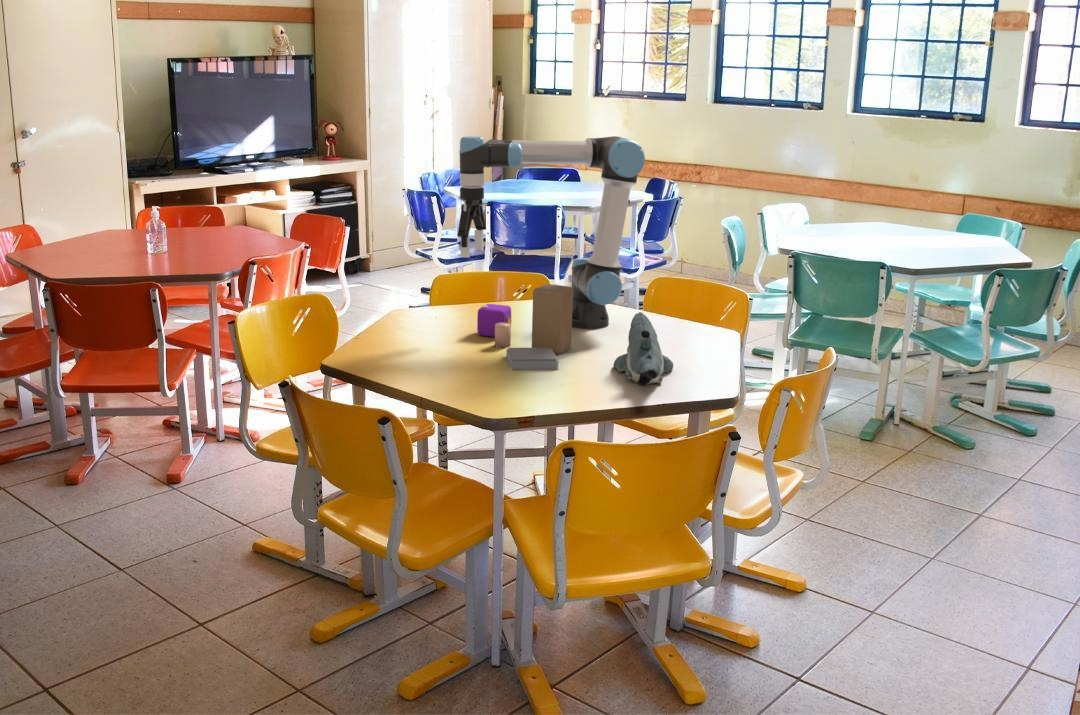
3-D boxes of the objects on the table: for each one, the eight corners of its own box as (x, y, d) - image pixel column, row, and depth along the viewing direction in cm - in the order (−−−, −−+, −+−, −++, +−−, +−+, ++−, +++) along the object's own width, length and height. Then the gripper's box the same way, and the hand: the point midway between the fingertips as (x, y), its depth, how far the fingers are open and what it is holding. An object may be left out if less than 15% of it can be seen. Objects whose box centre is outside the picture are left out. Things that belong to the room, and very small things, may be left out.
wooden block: (572, 348, 334) (574, 286, 328) (559, 355, 325) (561, 292, 320) (543, 344, 338) (545, 282, 332) (530, 351, 329) (531, 288, 324)
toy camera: (514, 329, 356) (514, 300, 353) (508, 339, 342) (509, 309, 340) (482, 327, 357) (482, 298, 354) (476, 337, 343) (476, 307, 341)
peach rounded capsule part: (509, 343, 337) (510, 322, 335) (511, 347, 332) (511, 326, 330) (494, 343, 336) (494, 322, 335) (495, 347, 332) (495, 326, 330)
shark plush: (675, 365, 318) (678, 313, 313) (659, 404, 281) (663, 346, 277) (617, 360, 322) (620, 309, 317) (595, 397, 285) (597, 340, 281)
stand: (551, 356, 324) (551, 347, 323) (557, 369, 310) (558, 359, 309) (506, 356, 322) (506, 347, 321) (510, 369, 309) (510, 359, 308)
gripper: (473, 182, 343) (473, 246, 349) (446, 190, 320) (447, 259, 325) (495, 183, 341) (495, 247, 347) (470, 191, 318) (470, 261, 324)
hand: (472, 253), depth 336 cm, fingers open, 13 cm apart
